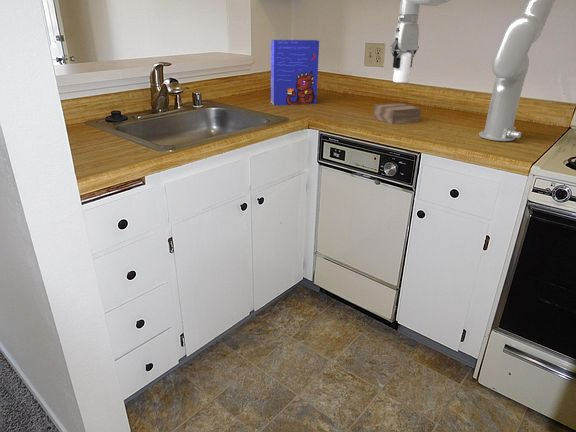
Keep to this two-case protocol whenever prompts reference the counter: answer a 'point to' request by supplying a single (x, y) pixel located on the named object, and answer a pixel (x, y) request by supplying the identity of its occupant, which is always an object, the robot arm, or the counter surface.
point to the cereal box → (294, 71)
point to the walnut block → (396, 113)
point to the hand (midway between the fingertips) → (402, 67)
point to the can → (403, 68)
